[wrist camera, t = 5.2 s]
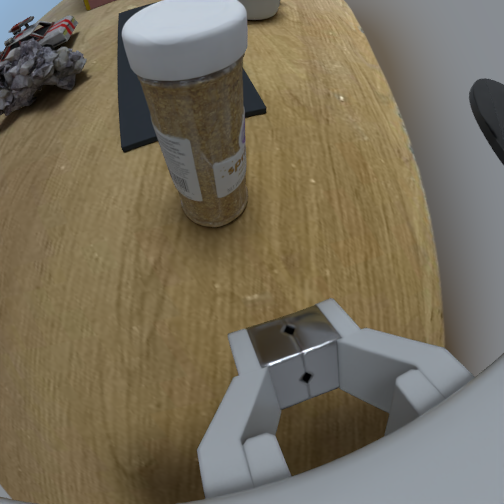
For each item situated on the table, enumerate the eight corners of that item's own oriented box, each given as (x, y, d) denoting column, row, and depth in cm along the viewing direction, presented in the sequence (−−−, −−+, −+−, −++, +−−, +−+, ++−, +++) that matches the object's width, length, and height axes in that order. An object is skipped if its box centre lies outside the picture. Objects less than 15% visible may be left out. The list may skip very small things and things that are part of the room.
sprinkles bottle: (257, 218, 20) (266, 21, 7) (188, 237, 19) (117, 53, 7) (236, 164, 21) (228, -16, 9) (175, 181, 21) (120, 8, 8)
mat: (266, 113, 23) (266, 107, 23) (123, 152, 22) (121, 147, 21) (194, -4, 34) (194, -7, 34) (119, 16, 33) (118, 13, 32)
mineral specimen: (-28, 123, 20) (-21, 40, 14) (8, 92, 26) (22, 24, 20) (55, 139, 25) (74, 50, 19) (82, 106, 31) (103, 35, 25)
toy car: (-3, 71, 31) (-20, 42, 24) (81, 30, 32) (69, -7, 25) (-19, 97, 28) (-39, 67, 21) (70, 51, 29) (53, 11, 22)
